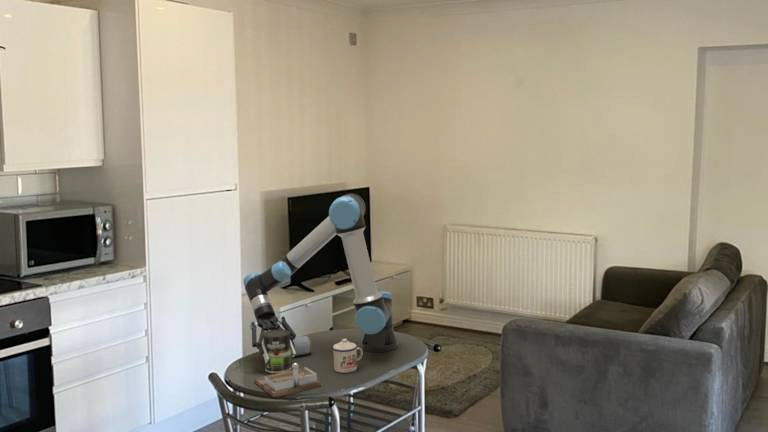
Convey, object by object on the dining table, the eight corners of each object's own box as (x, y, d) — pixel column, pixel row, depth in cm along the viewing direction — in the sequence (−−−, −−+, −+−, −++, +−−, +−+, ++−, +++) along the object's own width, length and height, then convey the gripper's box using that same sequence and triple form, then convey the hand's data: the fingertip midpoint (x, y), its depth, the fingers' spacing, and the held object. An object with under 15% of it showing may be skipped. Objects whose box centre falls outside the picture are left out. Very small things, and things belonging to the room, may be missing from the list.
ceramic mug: (313, 355, 307) (311, 336, 306) (293, 358, 304) (292, 340, 303) (303, 349, 317) (302, 330, 316) (284, 352, 313) (283, 334, 312)
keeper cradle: (265, 384, 272) (263, 360, 270) (306, 375, 280) (305, 352, 278) (276, 392, 263) (275, 368, 262) (318, 383, 271) (317, 359, 270)
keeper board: (254, 382, 278) (254, 378, 278) (300, 372, 287) (300, 368, 287) (273, 397, 263) (273, 393, 263) (321, 386, 272) (321, 382, 272)
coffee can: (291, 372, 287) (289, 336, 286) (263, 374, 287) (261, 337, 285) (293, 363, 298) (291, 328, 296) (266, 365, 297) (264, 329, 295)
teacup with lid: (341, 375, 283) (339, 344, 281) (329, 368, 290) (328, 338, 289) (369, 368, 289) (367, 338, 287) (357, 362, 297) (355, 332, 295)
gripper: (287, 309, 309) (305, 357, 297) (233, 319, 297) (250, 369, 286) (291, 299, 303) (310, 347, 292) (237, 308, 292) (254, 359, 281)
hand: (280, 358), depth 289 cm, fingers closed on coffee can, 10 cm apart
